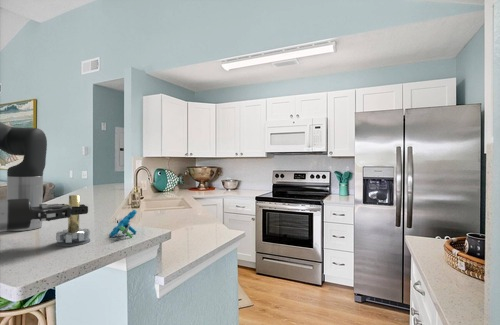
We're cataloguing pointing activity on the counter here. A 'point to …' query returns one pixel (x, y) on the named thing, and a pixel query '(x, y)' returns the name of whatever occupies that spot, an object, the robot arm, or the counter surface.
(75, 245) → the pad
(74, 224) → the gear
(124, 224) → the blue splat disc
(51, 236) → the counter surface
